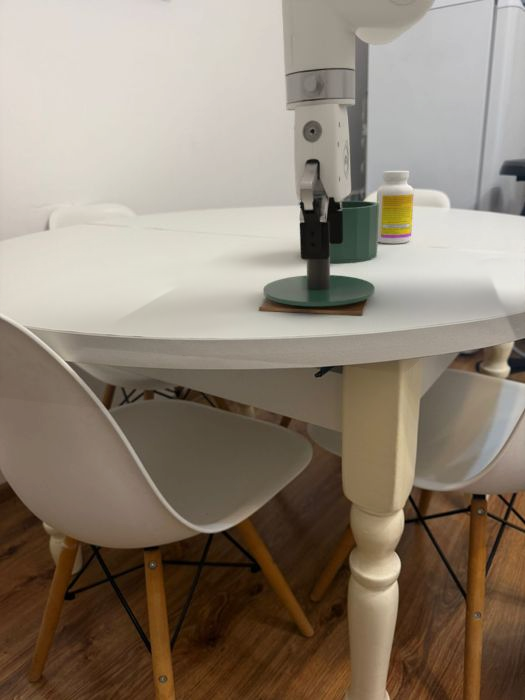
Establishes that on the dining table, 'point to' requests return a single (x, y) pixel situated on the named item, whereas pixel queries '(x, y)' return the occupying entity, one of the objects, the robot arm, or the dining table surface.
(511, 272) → the dining table surface
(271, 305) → the plate
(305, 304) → the pot lid
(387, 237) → the supplement bottle
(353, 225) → the pot
